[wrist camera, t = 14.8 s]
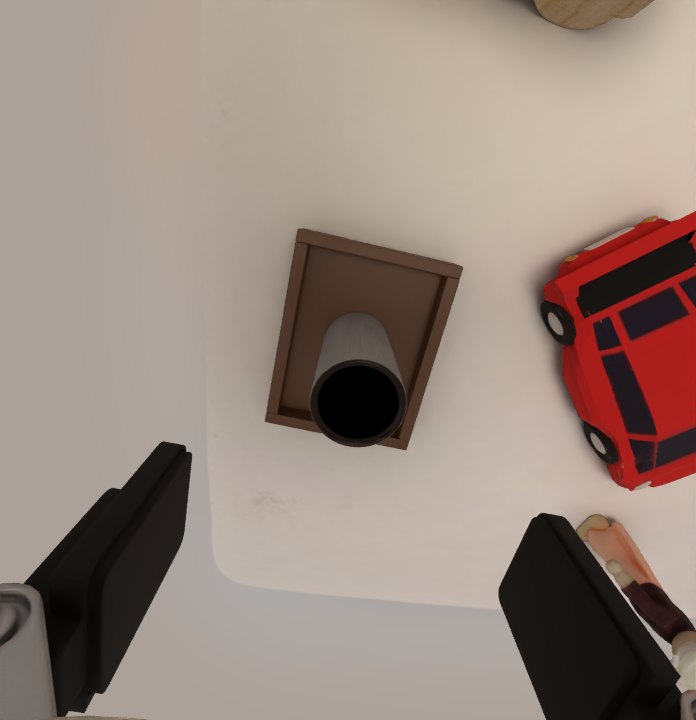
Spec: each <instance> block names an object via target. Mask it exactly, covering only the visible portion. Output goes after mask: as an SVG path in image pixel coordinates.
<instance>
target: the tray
mask: <svg viewBox="0 0 696 720" xmlns="http://www.w3.org/2000/svg"><path fill="white" fill-rule="evenodd" d="M296 241H297V242H296V243H295V249H294V255H293V261H292V266H291V272H290V278H289V284H288V290H287V296H286V301H285V307H284V313H283V319H282V325H281V331H280V336H279V342H278V348H277V354H276V360H275V366H274V371H273V377H272V383H271V389H270V395H269V400H268V406H267V412H266V418H265V422H268V423H273V424H278V425H283V426H288V427H293V428H298V429H303V430H308V431H313V432H318V433H322V432H321V431H320V430H319V428H318V427H317V426H316V424H315V422H314V420H313V418H312V415H311V412H310V394H311V389H312V385H313V381H314V377H315V373H316V369H317V365H318V361H319V357H320V353H321V349H322V345H323V341H324V337H325V334H326V332H327V330H328V328H329V326H330V325H331V323H332V322H333V321H334V320H335V319H337V318H338V317H340V316H341V315H344V314H347V313H350V312H362V313H366V314H369V315H371V316H373V317H374V318H376V319H377V320H378V321H379V322H380V323H381V324H382V326H383V327H384V329H385V331H386V333H387V336H388V339H389V342H390V345H391V348H392V351H393V354H394V357H395V360H396V363H397V366H398V370H399V373H400V376H401V379H402V382H403V385H404V388H405V392H406V397H407V408H406V413H405V416H404V419H403V421H402V423H401V425H400V426H399V428H398V429H397V430H396V431H395V432H394V433H393V434H392V435H391V436H390V437H388V438H387V439H385V440H384V441H382V442H380V443H377V445H382V446H387V447H392V448H397V449H402V450H407V446H408V443H409V440H410V437H411V434H412V430H413V427H414V424H415V421H416V418H417V414H418V411H419V408H420V405H421V402H422V398H423V395H424V392H425V389H426V386H427V382H428V379H429V376H430V373H431V370H432V366H433V363H434V360H435V357H436V354H437V351H438V347H439V344H440V341H441V338H442V335H443V331H444V328H445V325H446V322H447V319H448V315H449V312H450V309H451V306H452V303H453V299H454V296H455V293H456V290H457V287H458V283H459V279H460V276H461V273H462V270H463V267H462V266H459V265H456V264H453V263H449V262H445V261H440V260H436V259H432V258H428V257H423V256H419V255H415V254H410V253H406V252H402V251H398V250H393V249H389V248H385V247H380V246H376V245H372V244H368V243H363V242H359V241H355V240H351V239H346V238H342V237H338V236H333V235H329V234H325V233H321V232H316V231H312V230H308V229H303V228H302V229H298V232H297V237H296Z"/></svg>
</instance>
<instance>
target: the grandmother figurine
mask: <svg viewBox="0 0 696 720" xmlns="http://www.w3.org/2000/svg"><path fill="white" fill-rule="evenodd" d="M576 533H577V534H578V535H579V537H580V538H581V539H582V540H584V541H589V544H590V545H591V546H592V548H593V549H594V550H595V551H596V552H597V553H598V554H599V555H600V556H601V557H602V558H603V559H604V560H605V561H606V562H607V563H606V569H607V570H608V572H609V573H610V574H612V575H613V576H614V578H615V580H616V582H617V583H618V585H619V586H620V587H621V590H622V592H623V593H624V594H625V595H626V596H627V597H628V598H629V600H630V602H631V604H632V606H633V607H634V609H635V611H636V612H637V613H638V615H640V616H641V617H642V618H643V619H644V620H645V621H646V622H647V623H648V624H649V625H650V626H651V627H652V629H653V630H654V631H655V632H656V633H657V634H658V635H659V636H660V637H662V638H663V639H664V640H665V641H667V642H668V643H670V644H671V645H672V653H673V658H672V660H670V662H671V663H672V665H673V666H674V667H675V669H676V670H677V671H678V673H679V674H680V676H681V678H680V679H679V680H678V681H677V683H678V684H679V685H681V686H682V687H684V688H686V689H688V690H696V630H695V628H694V626H693V624H692V623H691V622H690V620H689V619H688V618H687V616H686V615H685V614H684V613H683V612H682V611H681V610H680V609H679V608H678V607H677V606H675V605H674V604H673V603H672V601H671V600H670V599H669V597H668V596H667V594H666V593H665V592H664V591H663V589H662V587H661V585H660V584H659V582H658V581H657V579H656V577H655V576H654V574H653V572H652V570H651V569H650V567H649V565H648V563H647V562H646V560H645V559H644V557H643V555H642V554H641V552H640V550H639V549H638V547H637V545H636V544H635V542H634V541H633V540H632V538H631V537H630V535H629V534H628V532H627V531H626V530H625V528H624V527H623V526H622V525H621V524H620V523H618V522H613V523H612V525H611V527H609V523H608V521H607V519H606V518H605V517H603V516H601V515H593V516H590V517H589V518H588V519H587V520H586V521H585V522H584V523H583V524H582V525H581V526H580V527H579V528H578V529H577V532H576Z"/></svg>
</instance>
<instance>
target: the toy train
mask: <svg viewBox="0 0 696 720" xmlns="http://www.w3.org/2000/svg"><path fill="white" fill-rule="evenodd" d="M652 1H654V0H534V2H535V4H536V7H537V9H538V12H539V13H540V14H541V15H542V16H544V17H545V18H546V19H547V20H548V21H550V22H552V23H554V24H557V25H559V26H563V27H568V28H573V29H589V28H592V27H595V26H597V25H600V24H603V23H605V22H607V21H608V20H610V19H611V18H613V17H616V18H621V19H624V18H629V17H632V16H634V15H635V14H636V13H638V12H639V11H640V10H642V9H643V8H644V7H646V6H647V5H648V4H650V3H651V2H652Z"/></svg>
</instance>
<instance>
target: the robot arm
mask: <svg viewBox="0 0 696 720" xmlns="http://www.w3.org/2000/svg"><path fill="white" fill-rule="evenodd" d="M191 462H192V454H191V452H186V447H185V446H184V445H179V444H175V443H169V442H164V441H163V442H161V443H160V444H159V445H158V446H157V447H156V448H155V450H154V451H153V452H152V453H151V454H150V456H149V457H148V458H147V459H146V460H145V462H144V463H143V464H142V465H141V466H140V467H139V469H138V470H137V471H136V472H135V473H134V474H133V476H132V477H131V478H130V479H129V480H128V482H127V483H126V484H125V485H124V486H123V488H122V489H116V488H111V489H109V490H107V491H106V492H105V493H104V494H103V495H102V496H101V497H100V498H99V500H98V501H97V502H96V503H95V504H94V505H93V506H92V507H91V509H90V510H89V511H88V512H87V513H86V514H85V515H84V516H83V517H82V519H81V520H80V521H79V522H78V523H77V524H76V525H75V526H74V528H73V529H72V530H71V531H70V532H69V533H68V534H67V535H66V537H65V538H64V539H63V540H62V541H61V542H60V543H59V544H58V546H57V547H56V548H55V549H54V550H53V551H52V552H51V553H50V554H49V556H48V557H47V558H46V559H45V560H44V561H43V562H42V564H41V565H40V566H39V567H38V568H37V569H36V570H35V571H34V573H33V574H32V575H31V576H30V577H29V578H28V579H27V580H26V582H25V583H24V584H20V583H3V584H0V720H145V719H135V718H118V717H100V716H74V717H66V714H67V713H68V711H74V712H81V713H85V711H86V709H87V707H88V705H89V703H90V702H91V700H92V698H93V696H94V694H95V693H99V694H103V693H104V692H105V690H106V689H107V687H108V686H109V684H110V682H111V680H112V678H113V676H114V674H115V672H116V670H117V668H118V666H119V664H120V662H121V661H122V659H123V657H124V655H125V653H126V651H127V649H128V647H129V645H130V643H131V641H132V639H133V637H134V635H135V633H136V631H137V629H138V627H139V626H140V624H141V622H142V620H143V617H144V616H145V614H146V612H147V610H148V608H149V606H150V604H151V602H152V600H153V598H154V596H155V594H156V593H157V591H158V588H159V587H160V585H161V583H162V581H163V579H164V577H165V575H166V573H167V571H168V569H169V567H170V565H171V563H172V561H173V559H174V558H175V555H176V553H177V552H178V550H179V548H180V546H181V543H182V540H183V536H184V531H185V520H186V510H187V501H188V490H189V481H190V472H191ZM499 601H500V604H501V606H502V609H503V611H504V614H505V616H506V619H507V621H508V624H509V627H510V629H511V632H512V634H513V637H514V639H515V642H516V644H517V647H518V649H519V652H520V654H521V657H522V660H523V662H524V664H525V667H526V670H527V672H528V675H529V677H530V680H531V682H532V685H533V687H534V690H535V692H536V695H537V698H538V700H539V703H540V705H541V708H542V710H543V713H544V715H545V718H546V720H696V690H687V691H685V692H683V693H681V692H680V690H679V689H678V687H677V686H676V683H677V681H678V680H679V679H680V678H681V676H680V674H679V673H678V671H677V670H676V669H675V667H674V666H673V665H672V663H671V662H670V660H669V659H668V658H667V656H666V655H665V654H664V652H663V651H662V650H661V649H660V647H659V645H658V644H657V643H656V641H655V640H654V638H653V637H652V636H651V634H650V633H649V632H648V631H647V629H646V628H645V626H644V625H643V623H642V622H641V621H640V619H639V618H638V616H637V615H636V614H635V612H634V611H633V610H632V608H631V607H630V606H629V604H628V603H627V601H626V600H625V599H624V597H623V596H622V595H621V593H620V592H619V590H618V589H617V588H616V586H615V585H614V584H613V582H612V581H611V579H610V578H609V577H608V575H607V574H606V573H605V571H604V570H603V568H602V567H601V566H600V564H599V563H598V562H597V560H596V559H595V557H594V556H593V555H592V553H591V552H590V551H589V549H588V548H587V546H586V545H585V544H584V542H583V541H582V540H581V538H580V537H579V535H578V534H577V533H576V531H575V530H574V529H573V527H572V526H571V524H570V523H569V522H568V520H567V519H566V518H564V517H562V516H557V515H552V514H547V513H541V514H539V515H538V516H537V517H534V518H533V519H532V520H531V522H530V524H529V526H528V528H527V530H526V532H525V534H524V536H523V539H522V541H521V543H520V545H519V547H518V549H517V551H516V553H515V555H514V557H513V559H512V561H511V564H510V566H509V568H508V570H507V572H506V574H505V576H504V578H503V580H502V582H501V584H500V587H499Z"/></svg>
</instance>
